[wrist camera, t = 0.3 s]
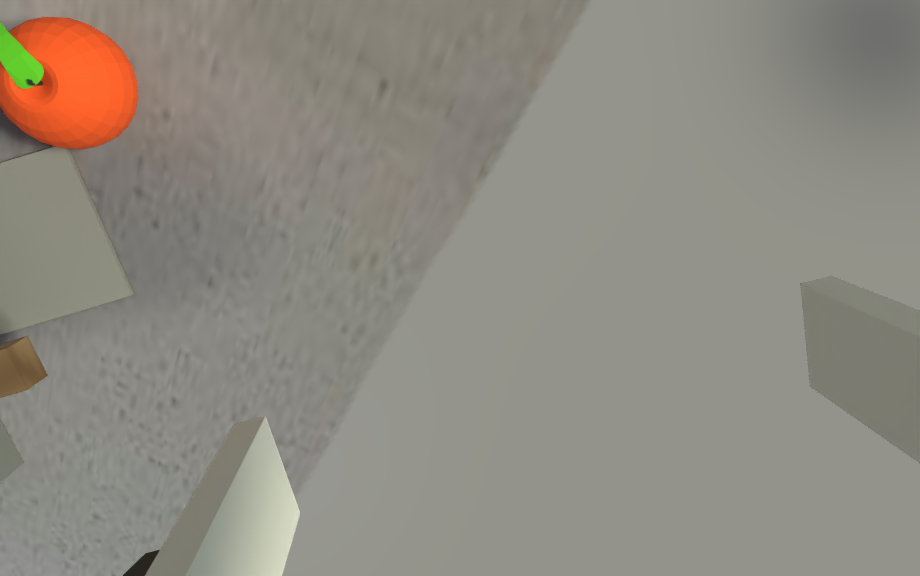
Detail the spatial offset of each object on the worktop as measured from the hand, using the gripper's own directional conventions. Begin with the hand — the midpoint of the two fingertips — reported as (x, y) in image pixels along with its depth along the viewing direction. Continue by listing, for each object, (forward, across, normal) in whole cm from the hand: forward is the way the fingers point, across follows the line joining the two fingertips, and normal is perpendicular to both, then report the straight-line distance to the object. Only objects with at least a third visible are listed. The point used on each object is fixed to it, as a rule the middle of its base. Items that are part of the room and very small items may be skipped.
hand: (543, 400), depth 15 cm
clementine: (+28, -20, +14) cm, 37 cm away
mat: (+28, -27, +5) cm, 39 cm away
